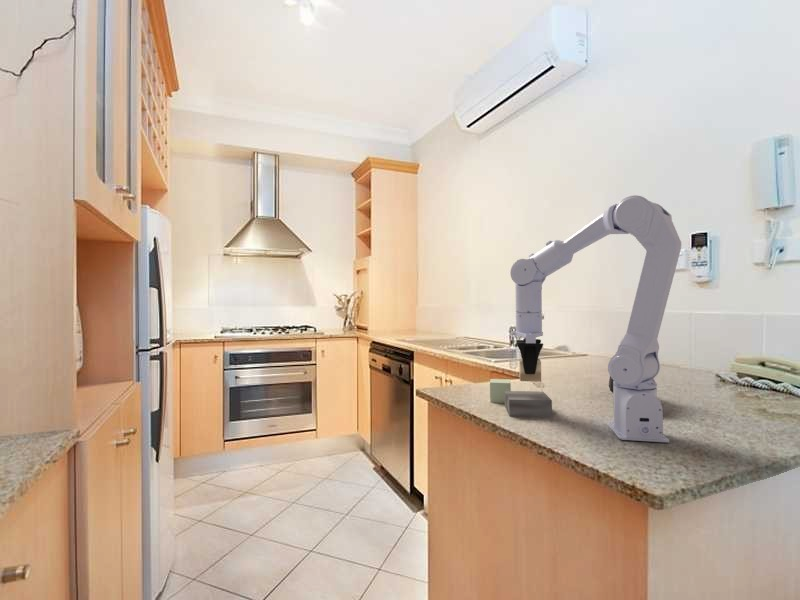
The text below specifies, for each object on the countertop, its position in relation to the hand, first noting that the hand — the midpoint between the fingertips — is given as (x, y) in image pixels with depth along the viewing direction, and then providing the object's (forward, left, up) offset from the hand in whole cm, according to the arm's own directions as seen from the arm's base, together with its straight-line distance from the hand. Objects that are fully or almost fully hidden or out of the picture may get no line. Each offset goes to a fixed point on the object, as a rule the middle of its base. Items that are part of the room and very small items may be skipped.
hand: (529, 372), depth 95 cm
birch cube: (0, 0, -2) cm, 2 cm away
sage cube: (+10, +7, -9) cm, 15 cm away
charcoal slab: (0, +1, -9) cm, 9 cm away
